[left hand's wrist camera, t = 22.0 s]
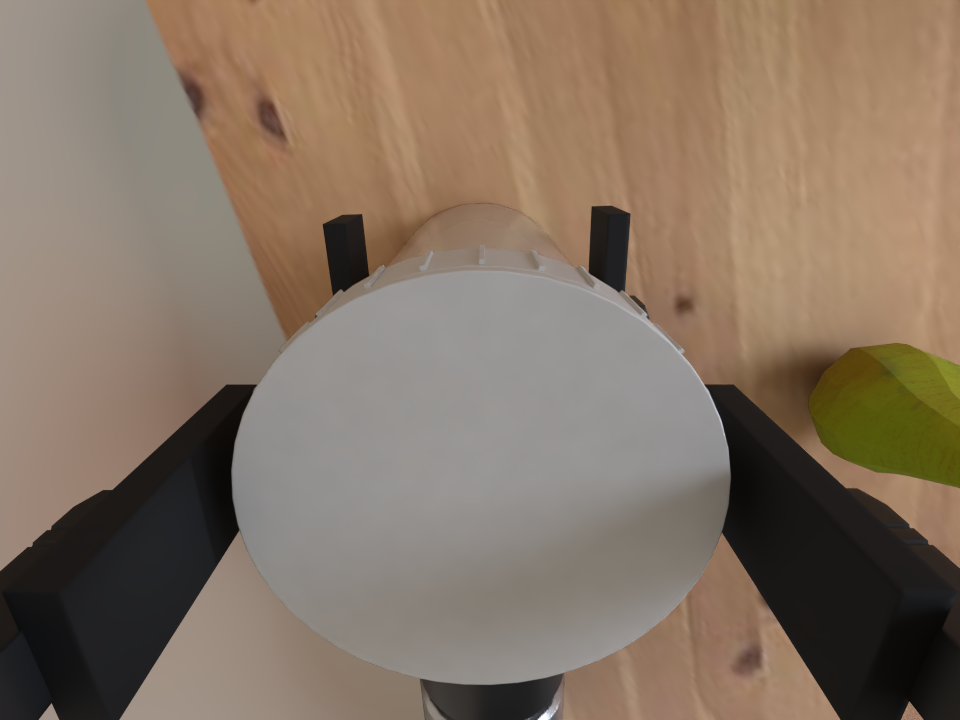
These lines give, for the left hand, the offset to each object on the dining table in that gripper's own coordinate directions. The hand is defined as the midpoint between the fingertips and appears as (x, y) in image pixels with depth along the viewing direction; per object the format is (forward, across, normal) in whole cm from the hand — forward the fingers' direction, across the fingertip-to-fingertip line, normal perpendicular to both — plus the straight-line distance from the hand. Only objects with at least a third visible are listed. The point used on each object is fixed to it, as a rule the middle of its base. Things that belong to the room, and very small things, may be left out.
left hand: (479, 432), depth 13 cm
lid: (-3, 0, 0) cm, 3 cm away
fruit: (+14, -20, +5) cm, 25 cm away
